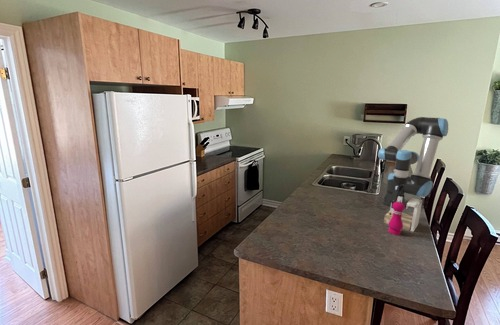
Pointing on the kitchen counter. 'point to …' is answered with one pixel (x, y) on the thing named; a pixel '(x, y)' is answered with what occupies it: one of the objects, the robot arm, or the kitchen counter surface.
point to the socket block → (404, 217)
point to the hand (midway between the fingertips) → (395, 209)
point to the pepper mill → (396, 218)
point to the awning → (415, 211)
